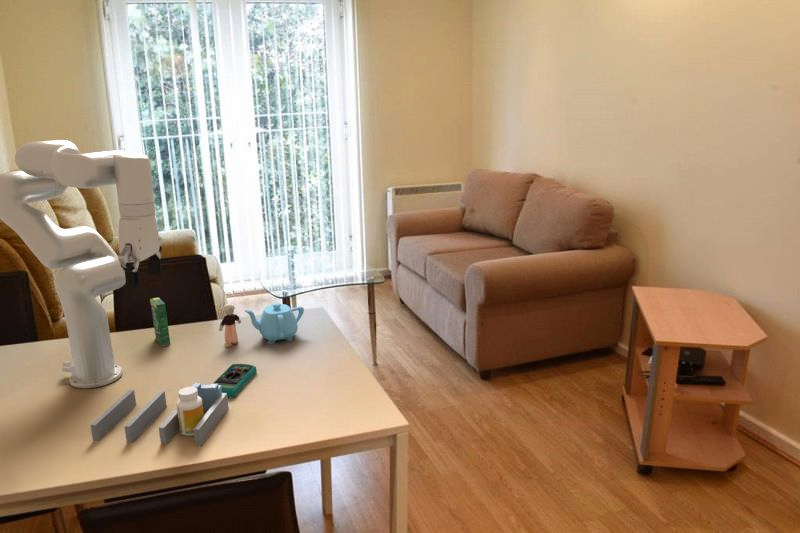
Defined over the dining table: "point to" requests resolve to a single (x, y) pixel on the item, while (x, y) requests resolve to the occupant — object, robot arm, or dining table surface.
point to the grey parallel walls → (211, 402)
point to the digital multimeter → (235, 378)
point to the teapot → (277, 322)
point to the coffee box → (160, 321)
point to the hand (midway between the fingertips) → (144, 281)
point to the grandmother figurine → (230, 325)
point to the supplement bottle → (189, 410)
